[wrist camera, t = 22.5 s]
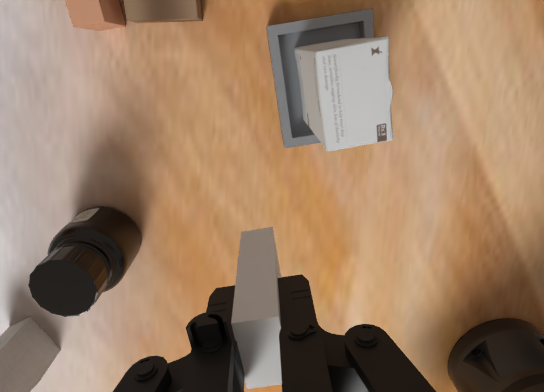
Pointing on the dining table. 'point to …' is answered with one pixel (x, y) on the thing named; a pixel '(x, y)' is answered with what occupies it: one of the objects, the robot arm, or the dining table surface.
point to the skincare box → (346, 91)
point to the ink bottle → (85, 261)
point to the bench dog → (95, 14)
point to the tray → (285, 64)
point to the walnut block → (163, 10)
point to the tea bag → (24, 356)
